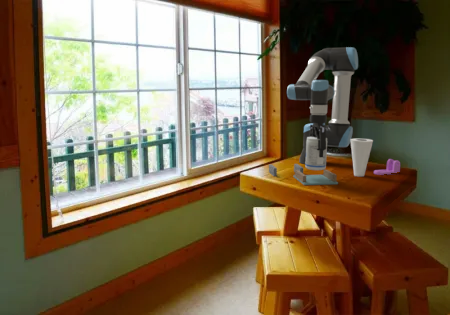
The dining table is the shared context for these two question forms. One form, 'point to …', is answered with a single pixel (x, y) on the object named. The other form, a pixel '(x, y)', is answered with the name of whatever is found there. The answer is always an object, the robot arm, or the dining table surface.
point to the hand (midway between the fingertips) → (315, 161)
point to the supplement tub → (314, 154)
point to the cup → (360, 155)
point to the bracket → (389, 168)
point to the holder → (274, 170)
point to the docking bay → (316, 178)
